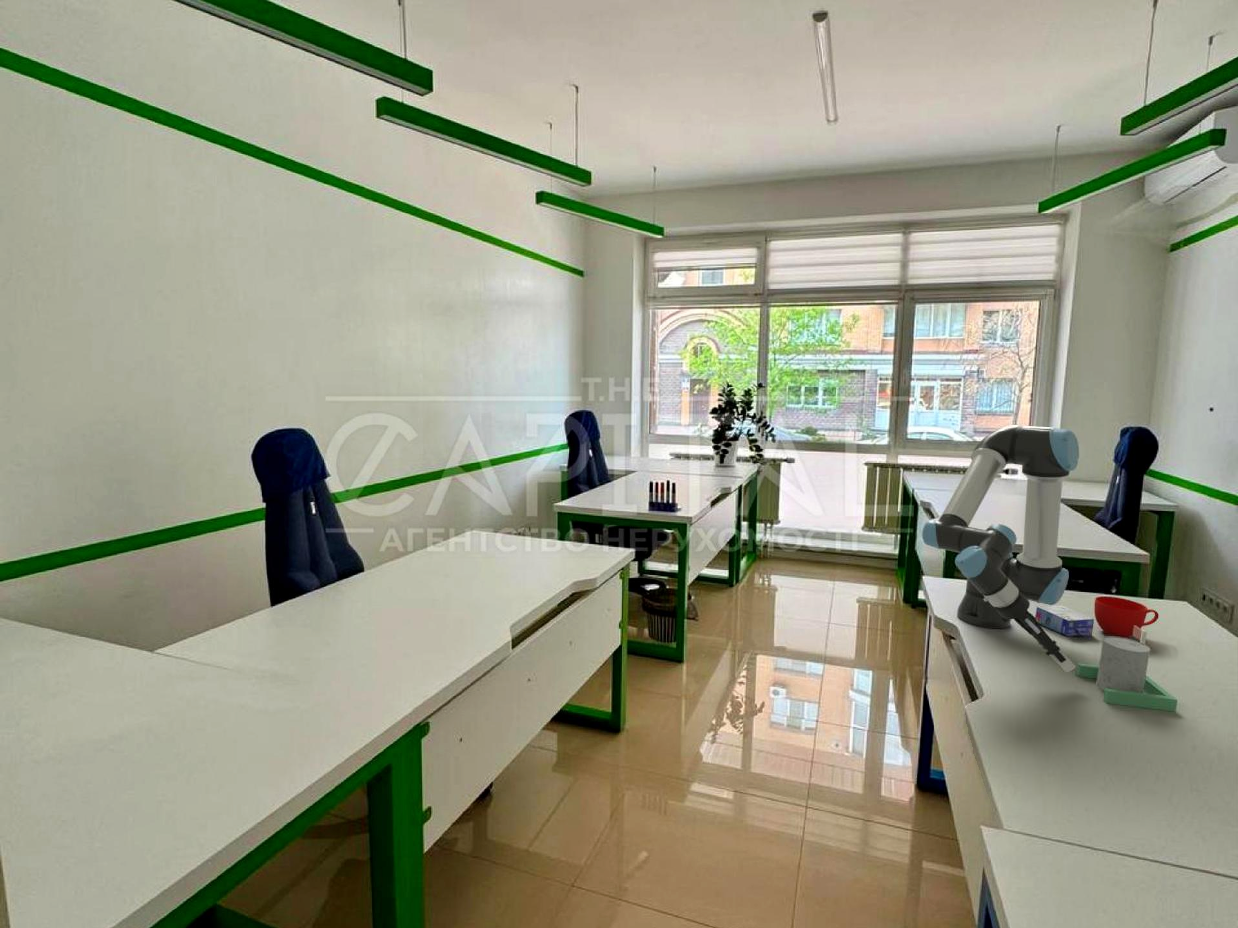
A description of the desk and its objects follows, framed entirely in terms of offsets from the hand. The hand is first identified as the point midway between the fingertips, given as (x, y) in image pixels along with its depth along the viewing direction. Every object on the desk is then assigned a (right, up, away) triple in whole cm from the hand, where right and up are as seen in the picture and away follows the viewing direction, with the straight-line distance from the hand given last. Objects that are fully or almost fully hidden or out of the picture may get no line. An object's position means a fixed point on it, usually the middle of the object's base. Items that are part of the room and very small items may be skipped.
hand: (1069, 668), depth 164 cm
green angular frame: (+13, -5, 0) cm, 13 cm away
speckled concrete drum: (+12, -5, -1) cm, 13 cm away
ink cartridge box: (+24, +3, +45) cm, 52 cm away
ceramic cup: (+42, -1, +36) cm, 56 cm away
